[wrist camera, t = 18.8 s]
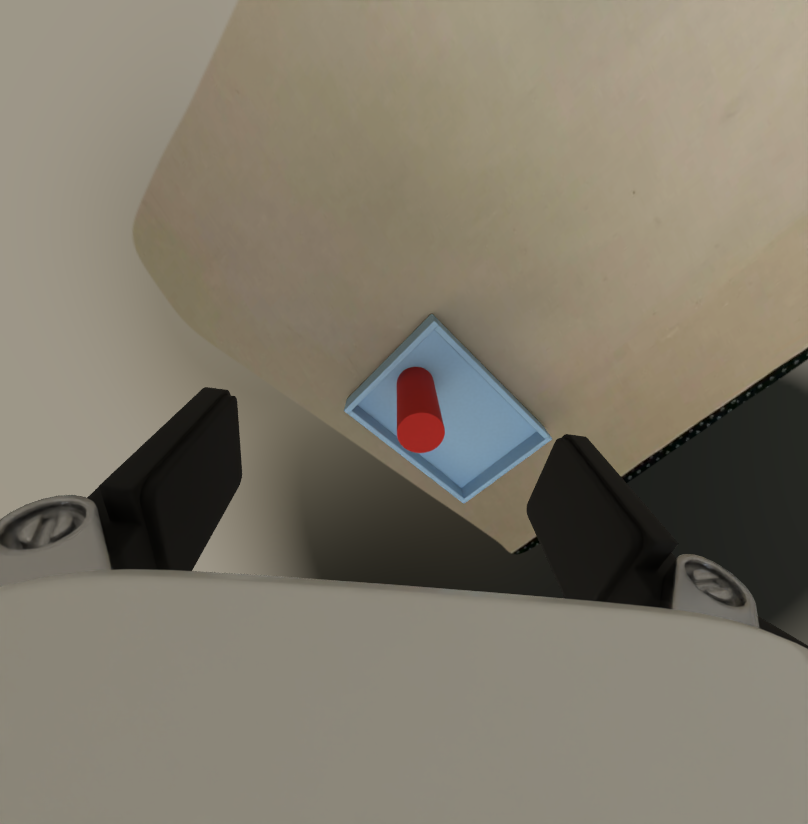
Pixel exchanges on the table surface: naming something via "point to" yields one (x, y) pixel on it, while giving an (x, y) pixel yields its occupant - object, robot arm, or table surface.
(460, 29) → the table surface
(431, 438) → the plug
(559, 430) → the table surface
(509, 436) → the tray
